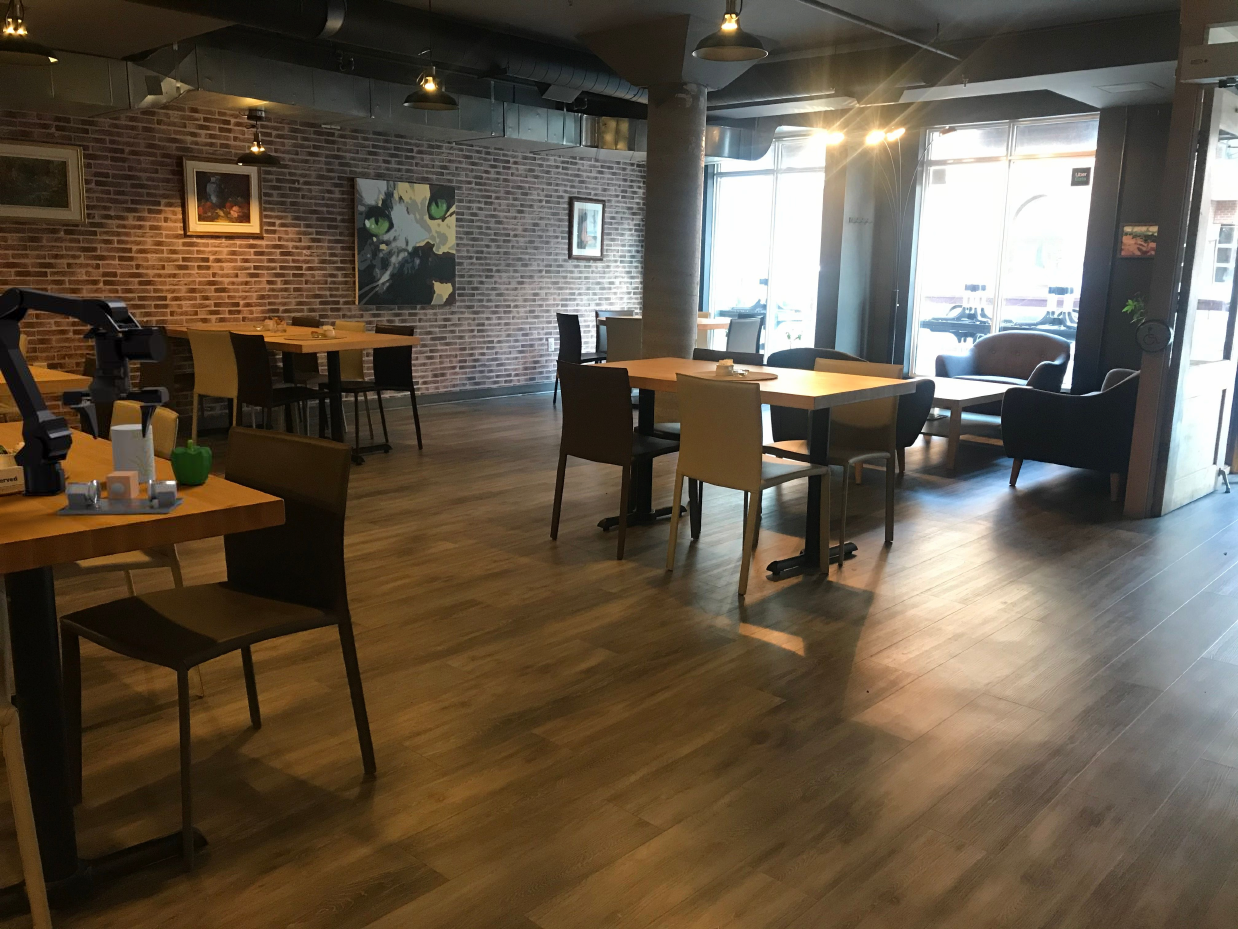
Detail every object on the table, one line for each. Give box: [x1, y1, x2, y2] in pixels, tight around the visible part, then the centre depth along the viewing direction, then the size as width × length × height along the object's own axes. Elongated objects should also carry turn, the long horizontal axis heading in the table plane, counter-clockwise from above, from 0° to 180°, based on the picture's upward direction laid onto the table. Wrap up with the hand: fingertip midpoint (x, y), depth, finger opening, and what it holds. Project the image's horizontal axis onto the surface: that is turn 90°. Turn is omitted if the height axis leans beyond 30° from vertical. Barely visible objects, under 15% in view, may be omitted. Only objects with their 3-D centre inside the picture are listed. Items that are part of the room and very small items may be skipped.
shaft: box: [146, 479, 178, 506], centre depth 191 cm, size 5×5×5 cm
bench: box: [56, 479, 185, 516], centre depth 190 cm, size 20×10×6 cm, turn 99°
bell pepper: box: [169, 439, 213, 486], centre depth 213 cm, size 8×8×10 cm
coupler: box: [105, 470, 140, 499], centre depth 199 cm, size 7×4×5 cm, turn 9°
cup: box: [110, 423, 156, 484], centre depth 214 cm, size 8×8×12 cm
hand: (120, 438), depth 197 cm, fingers open, 9 cm apart
